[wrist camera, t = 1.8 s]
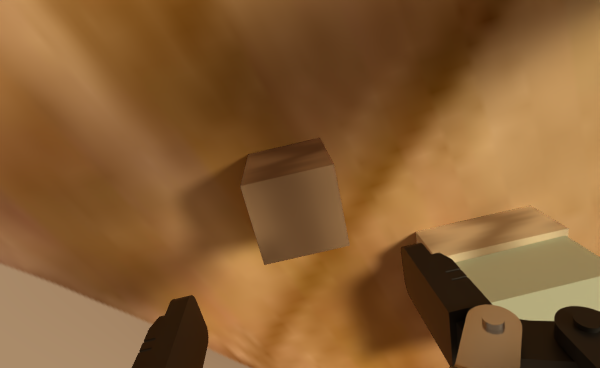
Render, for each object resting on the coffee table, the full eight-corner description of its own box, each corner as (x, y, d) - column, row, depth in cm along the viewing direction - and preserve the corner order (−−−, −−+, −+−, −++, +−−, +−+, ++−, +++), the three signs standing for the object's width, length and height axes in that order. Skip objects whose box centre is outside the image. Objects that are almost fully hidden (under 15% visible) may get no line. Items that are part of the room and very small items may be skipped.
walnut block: (319, 137, 23) (333, 164, 18) (332, 202, 25) (349, 245, 20) (248, 154, 23) (240, 186, 18) (266, 217, 25) (264, 264, 20)
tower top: (565, 235, 23) (621, 271, 19) (560, 324, 26) (608, 370, 22) (449, 264, 23) (482, 304, 20) (457, 349, 26) (487, 398, 22)
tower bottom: (527, 203, 27) (568, 228, 23) (525, 295, 30) (560, 329, 26) (414, 229, 27) (436, 258, 23) (424, 317, 30) (445, 355, 26)
